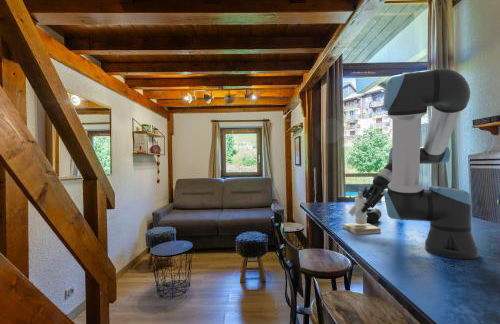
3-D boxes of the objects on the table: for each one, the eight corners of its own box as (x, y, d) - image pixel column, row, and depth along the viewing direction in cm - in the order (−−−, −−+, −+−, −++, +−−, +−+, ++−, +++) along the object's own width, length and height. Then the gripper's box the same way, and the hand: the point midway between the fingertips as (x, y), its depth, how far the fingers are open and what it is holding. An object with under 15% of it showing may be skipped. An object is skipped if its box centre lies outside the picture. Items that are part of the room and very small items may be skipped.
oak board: (380, 232, 114) (380, 228, 114) (356, 234, 113) (356, 230, 113) (365, 226, 126) (365, 222, 126) (343, 227, 125) (343, 223, 125)
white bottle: (369, 223, 117) (368, 192, 117) (359, 224, 117) (358, 192, 117) (362, 221, 122) (362, 191, 122) (353, 222, 122) (352, 191, 122)
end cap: (379, 225, 128) (378, 212, 128) (364, 223, 132) (363, 210, 132) (381, 220, 136) (381, 208, 136) (367, 219, 140) (367, 207, 140)
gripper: (402, 187, 112) (370, 225, 110) (377, 183, 130) (349, 216, 128) (391, 175, 112) (358, 214, 110) (367, 173, 130) (339, 206, 127)
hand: (353, 215), depth 119 cm, fingers closed on white bottle, 5 cm apart
